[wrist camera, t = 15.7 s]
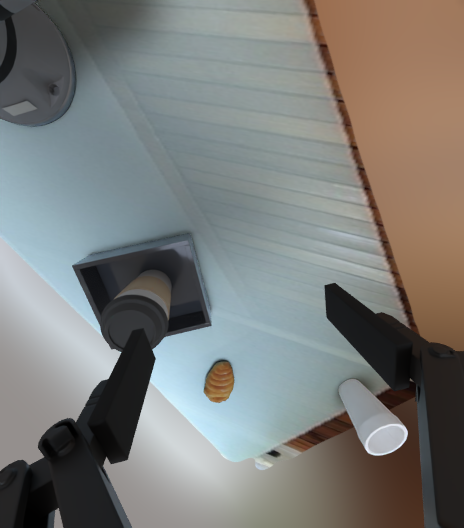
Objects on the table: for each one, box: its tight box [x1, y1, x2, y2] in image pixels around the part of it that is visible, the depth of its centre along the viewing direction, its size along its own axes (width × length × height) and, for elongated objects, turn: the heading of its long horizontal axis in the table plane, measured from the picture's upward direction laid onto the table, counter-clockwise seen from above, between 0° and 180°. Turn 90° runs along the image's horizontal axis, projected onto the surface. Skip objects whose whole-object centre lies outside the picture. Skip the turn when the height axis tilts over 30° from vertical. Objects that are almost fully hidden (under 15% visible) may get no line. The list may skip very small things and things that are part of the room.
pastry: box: [204, 361, 234, 403], centre depth 52 cm, size 9×7×4 cm
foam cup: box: [338, 379, 408, 455], centre depth 54 cm, size 10×9×13 cm
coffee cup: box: [101, 270, 172, 352], centre depth 37 cm, size 9×9×15 cm
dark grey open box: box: [72, 233, 211, 349], centre depth 42 cm, size 17×19×6 cm
